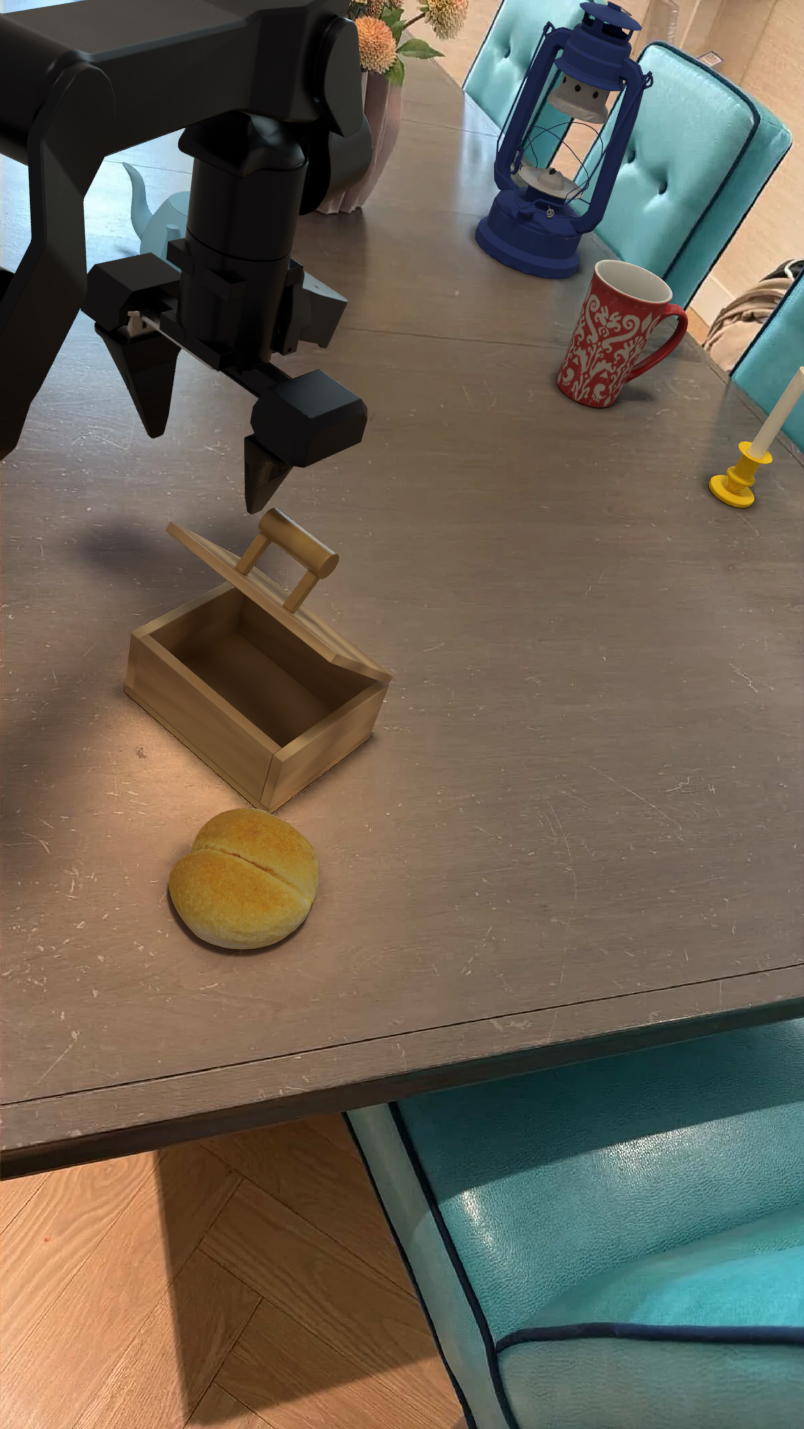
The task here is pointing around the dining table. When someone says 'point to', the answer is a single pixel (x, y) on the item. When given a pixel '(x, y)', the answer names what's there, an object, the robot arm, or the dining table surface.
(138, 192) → the teapot
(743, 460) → the candle
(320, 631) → the box door
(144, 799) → the dining table surface
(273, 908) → the bread roll
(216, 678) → the storage box
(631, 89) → the lantern
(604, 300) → the mug
